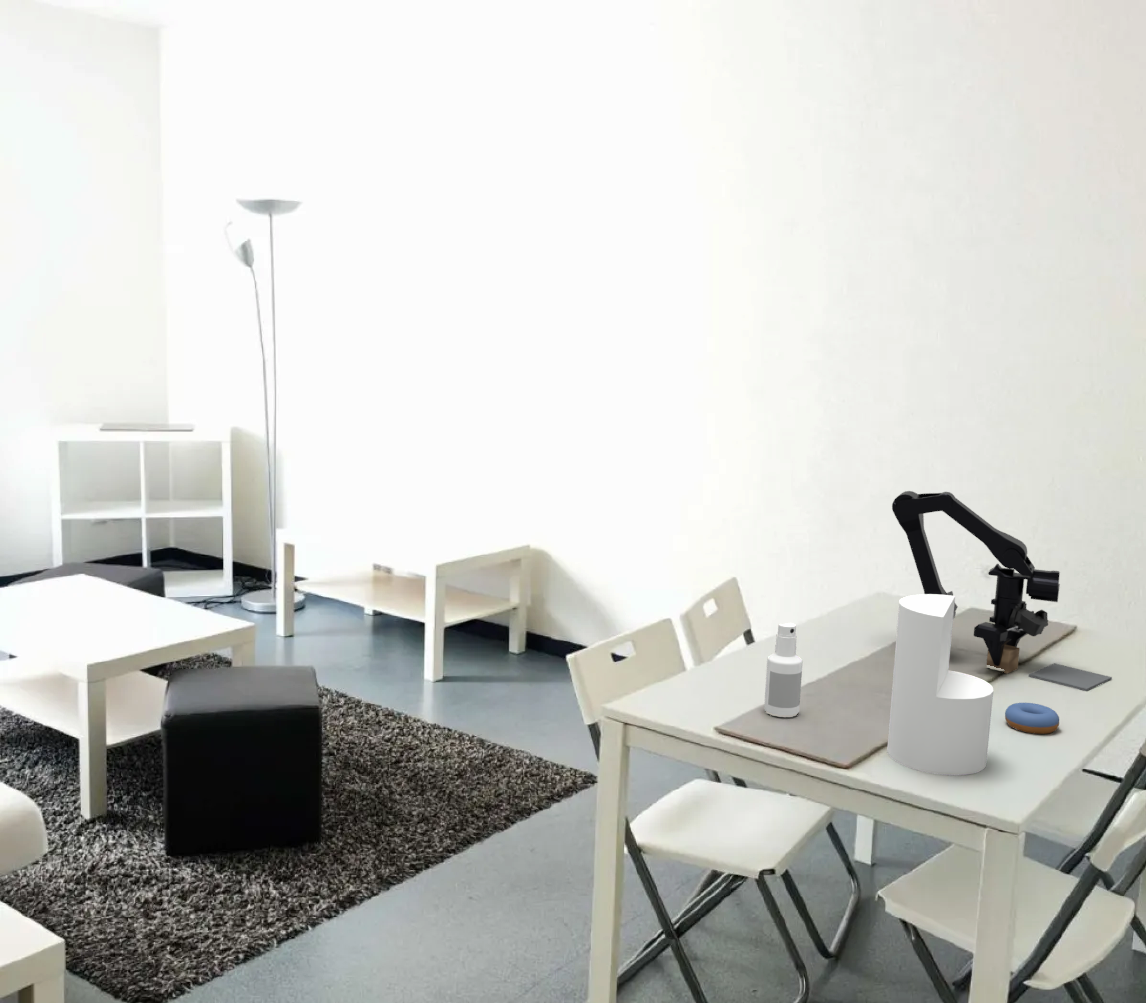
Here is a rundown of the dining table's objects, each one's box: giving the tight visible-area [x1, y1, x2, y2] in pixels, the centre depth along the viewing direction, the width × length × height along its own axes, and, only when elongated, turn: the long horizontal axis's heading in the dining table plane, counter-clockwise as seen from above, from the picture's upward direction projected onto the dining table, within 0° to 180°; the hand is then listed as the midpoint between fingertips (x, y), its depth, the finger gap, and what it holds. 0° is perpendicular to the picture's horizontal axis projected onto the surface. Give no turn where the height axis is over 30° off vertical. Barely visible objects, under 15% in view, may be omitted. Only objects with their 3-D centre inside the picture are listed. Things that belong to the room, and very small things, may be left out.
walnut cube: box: [986, 645, 1021, 674], centre depth 273 cm, size 5×5×5 cm
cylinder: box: [886, 593, 994, 776], centre depth 216 cm, size 17×17×28 cm
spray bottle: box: [763, 622, 804, 715], centre depth 237 cm, size 7×7×18 cm
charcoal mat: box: [1028, 662, 1113, 692], centre depth 268 cm, size 13×13×1 cm
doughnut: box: [1004, 702, 1060, 735], centre depth 235 cm, size 10×10×5 cm
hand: (1002, 663), depth 273 cm, fingers closed on walnut cube, 5 cm apart
